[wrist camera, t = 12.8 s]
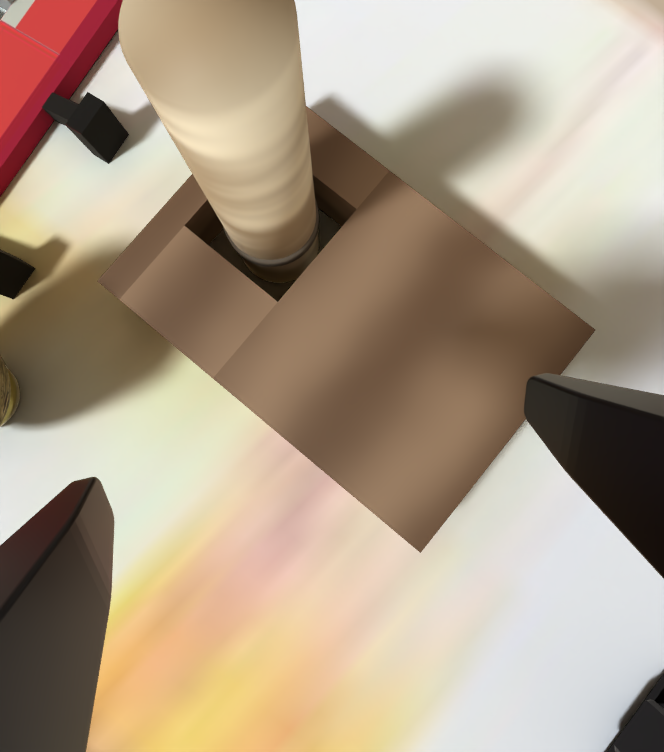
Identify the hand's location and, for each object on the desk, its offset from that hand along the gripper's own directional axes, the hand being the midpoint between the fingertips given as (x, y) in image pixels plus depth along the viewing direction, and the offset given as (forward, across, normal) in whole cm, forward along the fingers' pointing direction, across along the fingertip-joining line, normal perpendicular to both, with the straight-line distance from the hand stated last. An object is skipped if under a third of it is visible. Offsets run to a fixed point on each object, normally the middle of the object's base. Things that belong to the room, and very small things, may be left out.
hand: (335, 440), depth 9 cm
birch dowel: (+16, -2, -1) cm, 16 cm away
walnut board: (+13, -4, +2) cm, 14 cm away
